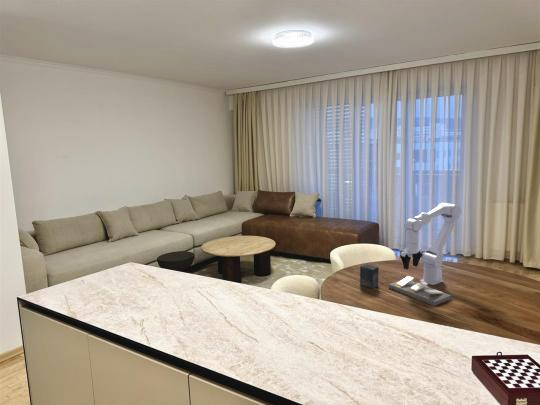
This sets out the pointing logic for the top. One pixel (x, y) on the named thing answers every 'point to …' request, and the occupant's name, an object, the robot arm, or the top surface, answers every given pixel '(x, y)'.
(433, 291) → the rocker
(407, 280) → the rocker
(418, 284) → the rocker
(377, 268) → the box
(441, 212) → the robot arm
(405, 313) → the top surface
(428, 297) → the switch panel
